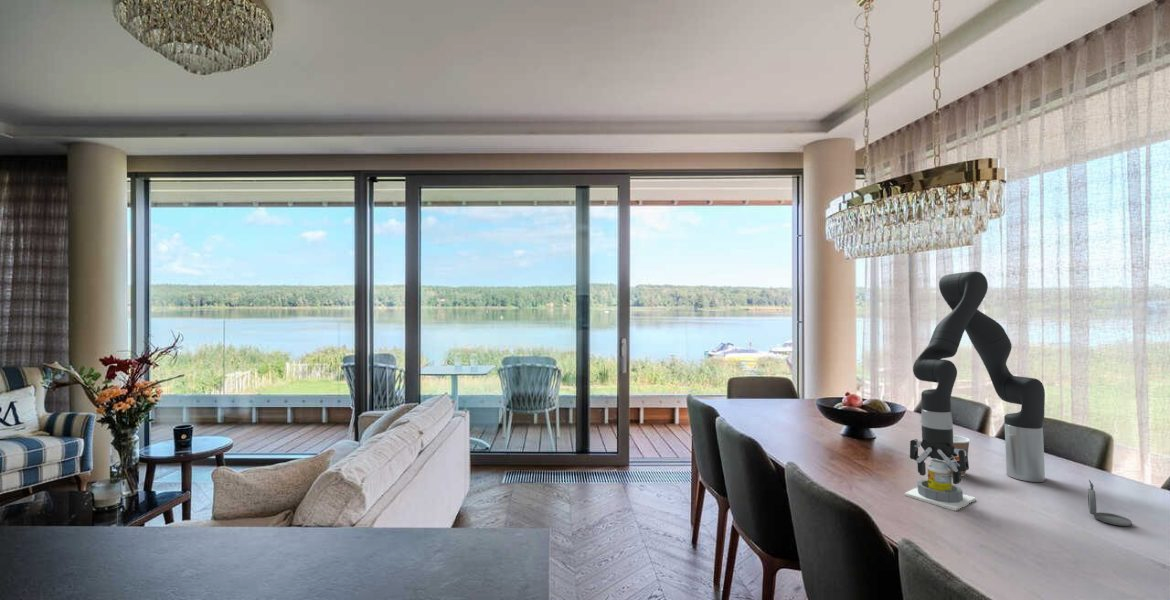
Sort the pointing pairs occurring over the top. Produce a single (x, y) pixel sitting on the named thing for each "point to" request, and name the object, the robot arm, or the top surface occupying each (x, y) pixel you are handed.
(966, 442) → the coffee cup
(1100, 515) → the pocket watch
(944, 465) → the supplement bottle
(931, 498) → the ring holder
